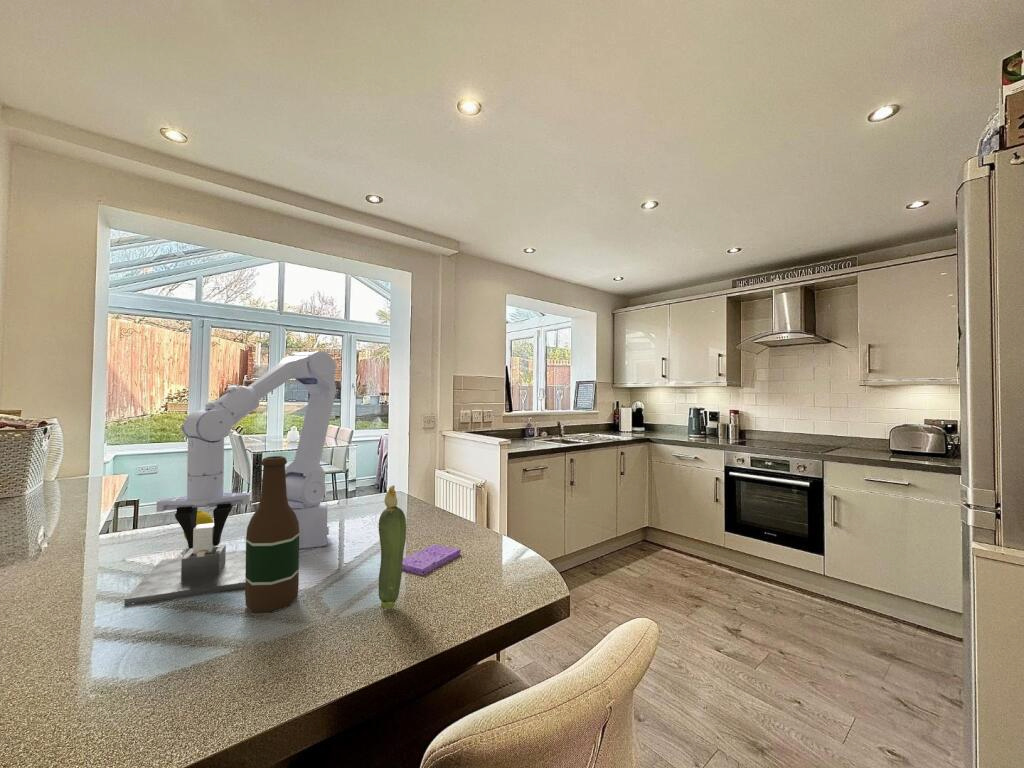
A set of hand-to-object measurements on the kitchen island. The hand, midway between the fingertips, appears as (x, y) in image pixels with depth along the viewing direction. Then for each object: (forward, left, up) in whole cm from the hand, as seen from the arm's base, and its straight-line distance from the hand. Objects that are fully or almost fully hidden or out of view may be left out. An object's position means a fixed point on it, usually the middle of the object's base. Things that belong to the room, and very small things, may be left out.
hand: (204, 545), depth 84 cm
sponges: (-41, +9, -6) cm, 42 cm away
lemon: (+5, -19, -6) cm, 20 cm away
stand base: (0, 0, -6) cm, 6 cm away
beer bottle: (-13, +17, -6) cm, 22 cm away
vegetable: (-31, +26, -6) cm, 41 cm away
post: (0, 0, -4) cm, 4 cm away
